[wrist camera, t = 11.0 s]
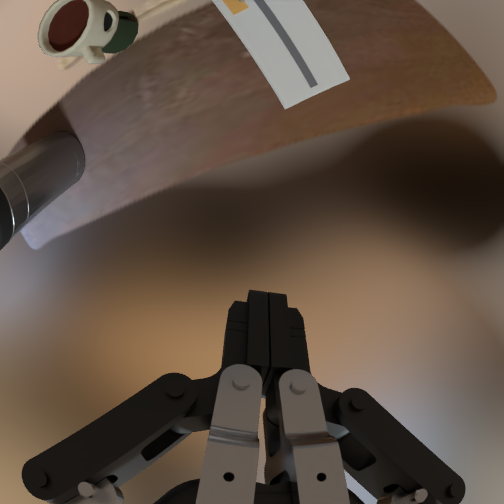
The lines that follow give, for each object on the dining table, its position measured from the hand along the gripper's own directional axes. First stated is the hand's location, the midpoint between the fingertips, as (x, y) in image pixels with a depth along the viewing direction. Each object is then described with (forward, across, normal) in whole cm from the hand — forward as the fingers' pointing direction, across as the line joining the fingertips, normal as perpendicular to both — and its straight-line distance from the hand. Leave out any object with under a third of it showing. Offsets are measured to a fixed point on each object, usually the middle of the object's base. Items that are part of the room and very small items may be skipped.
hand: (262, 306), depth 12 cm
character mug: (+29, +21, -14) cm, 39 cm away
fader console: (+29, +2, -16) cm, 33 cm away
